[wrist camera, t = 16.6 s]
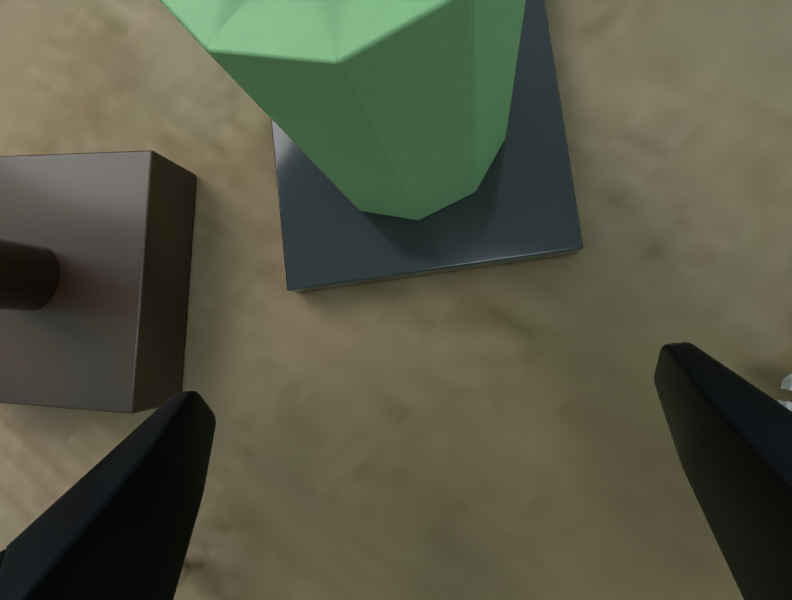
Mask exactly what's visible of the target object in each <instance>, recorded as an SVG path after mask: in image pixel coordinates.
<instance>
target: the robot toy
mask: <svg viewBox="0 0 792 600" xmlns="http://www.w3.org/2000/svg"><path fill="white" fill-rule="evenodd" d="M781 389H787V390H792V373H791V374H789V375H788V376H787V377H785V378H784V379H783V380H782V384H781ZM778 402H779V403H780V404H782V405H783V406H785V407H786V408H788V409H789V410H790V411H792V403H791V402H789V401H781V400H779V399H778Z"/></svg>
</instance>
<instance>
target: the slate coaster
mask: <svg viewBox="0 0 792 600" xmlns="http://www.w3.org/2000/svg"><path fill="white" fill-rule="evenodd" d="M271 121H272V132H273V142H274V153H275V164H276V174H277V185H278V196H279V206H280V217H281V228H282V238H283V249H284V260H285V271H286V281H287V290H289V291H293V292H298V293H301V292H308V291H315V290H322V289H329V288H336V287H343V286H351V285H358V284H365V283H372V282H379V281H386V280H393V279H400V278H407V277H415V276H422V275H429V274H436V273H443V272H450V271H457V270H464V269H471V268H479V267H486V266H493V265H500V264H507V263H514V262H521V261H528V260H536V259H543V258H550V257H557V256H564V255H571V254H576V253H578V252H579V251H580V250H581V249H583V242H582V236H581V230H580V223H579V217H578V211H577V204H576V198H575V192H574V185H573V179H572V173H571V166H570V160H569V154H568V147H567V141H566V135H565V128H564V122H563V115H562V109H561V103H560V96H559V90H558V84H557V77H556V71H555V65H554V58H553V52H552V46H551V39H550V33H549V27H548V20H547V14H546V8H545V1H544V0H526V2H525V9H524V16H523V23H522V29H521V36H520V43H519V50H518V57H517V63H516V70H515V77H514V84H513V91H512V97H511V104H510V111H509V118H508V125H507V131H506V138H505V140H504V142H503V143H502V145H501V147H500V149H499V151H498V152H497V154H496V156H495V158H494V160H493V161H492V163H491V165H490V167H489V169H488V170H487V172H486V174H485V176H484V178H483V179H482V181H481V183H480V185H479V186H478V188H477V190H476V191H475V192H474V193H472V194H470V195H468V196H466V197H464V198H462V199H460V200H458V201H456V202H454V203H452V204H450V205H448V206H446V207H444V208H442V209H440V210H438V211H436V212H434V213H432V214H430V215H428V216H426V217H424V218H422V219H419V220H413V219H407V218H401V217H395V216H388V215H382V214H376V213H369V212H363V211H360V210H359V209H358V208H357V207H356V206H355V205H354V204H353V203H352V202H351V201H350V200H349V199H348V198H347V197H346V196H345V195H344V194H343V193H342V192H341V191H340V190H339V189H338V188H337V187H336V186H335V184H334V183H333V182H332V181H331V180H330V179H329V178H328V177H327V176H326V175H325V174H324V173H323V172H322V171H321V170H320V169H319V168H318V167H317V166H316V165H315V164H314V163H313V162H312V160H311V159H310V158H309V157H308V156H307V155H306V154H305V153H304V152H303V151H302V150H301V149H300V148H299V147H298V146H297V145H296V144H295V143H294V142H293V141H292V140H291V139H290V138H289V136H288V135H287V134H286V133H285V132H284V131H283V130H282V129H281V128H280V127H279V126H278V125H277V124H276V123H275V122H274V121H273V120H272V119H271Z"/></svg>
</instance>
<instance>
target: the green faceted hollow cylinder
mask: <svg viewBox="0 0 792 600" xmlns="http://www.w3.org/2000/svg"><path fill="white" fill-rule="evenodd" d="M159 1H160V2H161V3H162V4H163V5H164V6H165V7H166V8H167V9H168V10H169V11H170V12H171V13H172V15H173V16H174V17H175V18H176V19H177V20H178V21H179V22H180V23H181V24H182V25H183V26H184V27H185V28H186V30H187V31H188V32H189V33H190V34H191V35H192V36H193V37H194V38H195V39H196V40H197V41H198V42H199V43H200V45H201V46H202V47H203V48H204V49H205V50H206V51H207V52H208V53H209V54H210V55H211V56H212V57H213V58H214V59H215V60H216V61H217V62H218V63H219V64H220V66H221V67H222V68H223V69H224V70H225V71H226V72H227V73H228V74H229V75H230V76H231V77H232V78H233V79H234V80H235V81H236V82H237V83H238V84H239V85H240V86H241V87H242V88H243V90H244V91H245V92H246V93H247V94H248V95H249V96H250V97H251V98H252V99H253V100H254V101H255V102H256V103H257V104H258V105H259V106H260V107H261V108H262V109H263V110H264V111H265V112H266V114H267V115H268V116H269V117H270V118H271V119H272V120H273V121H274V122H275V123H276V124H277V125H278V126H279V127H280V128H281V129H282V130H283V131H284V132H285V133H286V134H287V135H288V136H289V138H290V139H291V140H292V141H293V142H294V143H295V144H296V145H297V146H298V147H299V148H300V149H301V150H302V151H303V152H304V153H305V154H306V155H307V156H308V157H309V158H310V159H311V160H312V162H313V163H314V164H315V165H316V166H317V167H318V168H319V169H320V170H321V171H322V172H323V173H324V174H325V175H326V176H327V177H328V178H329V179H330V180H331V181H332V182H333V183H334V184H335V186H336V187H337V188H338V189H339V190H340V191H341V192H342V193H343V194H344V195H345V196H346V197H347V198H348V199H349V200H350V201H351V202H352V203H353V204H354V205H355V206H356V207H357V208H358V209H359V210H360V211H363V212H369V213H376V214H382V215H388V216H395V217H401V218H407V219H413V220H419V219H422V218H424V217H426V216H428V215H430V214H432V213H434V212H436V211H438V210H440V209H442V208H444V207H446V206H448V205H450V204H452V203H454V202H456V201H458V200H460V199H462V198H464V197H466V196H468V195H470V194H472V193H474V192H475V191H476V190H477V188H478V186H479V185H480V183H481V181H482V179H483V178H484V176H485V174H486V172H487V170H488V169H489V167H490V165H491V163H492V161H493V160H494V158H495V156H496V154H497V152H498V151H499V149H500V147H501V145H502V143H503V142H504V140H505V138H506V131H507V125H508V118H509V111H510V104H511V97H512V91H513V84H514V77H515V70H516V63H517V57H518V50H519V43H520V36H521V29H522V23H523V16H524V9H525V2H526V0H159Z"/></svg>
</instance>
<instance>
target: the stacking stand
mask: <svg viewBox="0 0 792 600" xmlns="http://www.w3.org/2000/svg"><path fill="white" fill-rule="evenodd" d="M195 183H196V175H195V174H193V173H191V172H190V171H188V170H186V169H184V168H183V167H181V166H179V165H177V164H175V163H174V162H172V161H170V160H168V159H167V158H165V157H163V156H161V155H159V154H158V153H156V152H154V151H128V152H101V153H74V154H48V155H21V156H0V403H8V404H20V405H32V406H44V407H56V408H69V409H81V410H93V411H105V412H117V413H129V414H133V413H137V412H141V411H146V410H150V409H154V408H158V407H160V406H162V405H163V404H164V403H165V402H166V401H167V400H168V399H169V398H170V397H171V396H173V395H174V394H176V393H179V392H181V382H182V367H183V353H184V339H185V325H186V311H187V296H188V282H189V268H190V254H191V239H192V225H193V211H194V197H195Z"/></svg>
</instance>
